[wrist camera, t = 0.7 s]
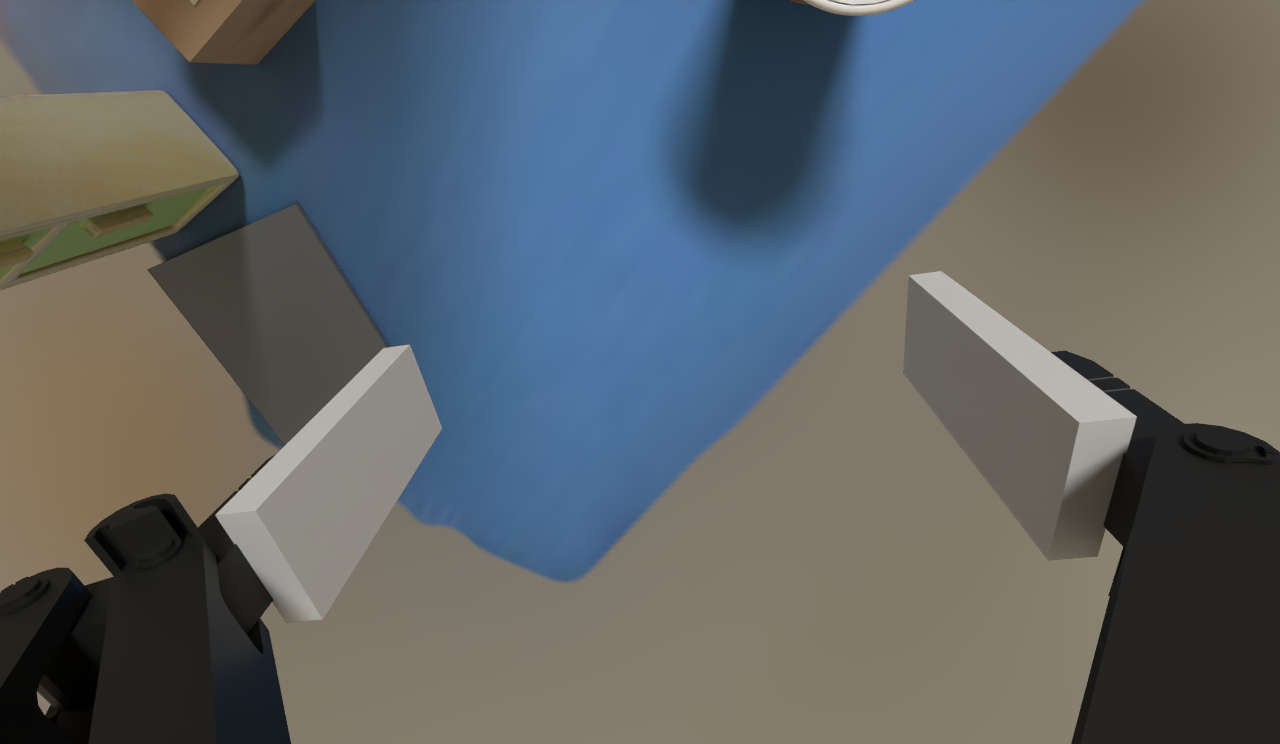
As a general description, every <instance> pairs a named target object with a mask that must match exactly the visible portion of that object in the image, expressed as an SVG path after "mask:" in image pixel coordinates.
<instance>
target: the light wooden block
mask: <svg viewBox="0 0 1280 744" xmlns="http://www.w3.org/2000/svg"><path fill="white" fill-rule="evenodd" d="M238 177H239V173H238V171H237V170H236V168H235V167H234V166H233V165H232V163H231V162H230V161H229V160H228V159H227V158H226V156H225V155H224V154H223V153H222V152H221V151H220V150H219V149H218V148H217V147H216V145H215V144H214V143H213V142H212V141H211V140H210V139H209V138H208V137H207V136H206V135H205V133H204V132H203V131H202V130H201V129H200V128H199V127H198V126H197V125H196V124H195V123H194V121H193V120H192V119H191V118H190V117H189V116H188V115H187V114H186V113H185V112H184V111H183V110H182V108H181V107H180V106H179V105H178V104H177V103H176V102H175V101H174V100H173V99H172V98H171V97H170V96H169V95H168V94H167V93H166V92H165V91H161V90H153V91H129V92H103V93H79V94H51V95H23V96H2V97H1V96H0V290H3V289H6V288H9V287H12V286H15V285H18V284H21V283H24V282H28V281H31V280H33V279H37V278H40V277H42V276H45V275H49V274H52V273H55V272H58V271H61V270H64V269H67V268H71V267H73V266H77V265H80V264H83V263H86V262H89V261H92V260H95V259H98V258H101V257H104V256H107V255H111V254H113V253H116V252H119V251H123V250H126V249H129V248H132V247H135V246H138V245H141V244H144V243H147V242H150V241H153V240H156V239H159V238H162V237H165V236H168V235H171V234H174V233H176V232H178V231H179V230H180V229H182V228H183V227H184V226H185V225H186V224H187V223H188V222H190V221H191V220H192V219H193V218H194V217H195V216H196V215H197V214H198V213H199V212H201V211H202V210H203V209H204V208H205V207H206V206H207V205H208V204H209V203H210V202H212V201H213V200H214V199H215V198H216V197H217V196H218V195H219V194H220V193H221V192H223V191H224V190H225V189H226V188H227V187H228V186H229V185H230V184H232V183H233V182H234V181H235V180H236V179H237V178H238Z"/></svg>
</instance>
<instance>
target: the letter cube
mask: <svg viewBox="0 0 1280 744" xmlns="http://www.w3.org/2000/svg"><path fill="white" fill-rule="evenodd" d="M132 1H133V2H134V4H135V5H136V6H137V7H138V8H139V9H140V10H141V11H142V12H143V13H144V14H145V15H146V16H147V17H148V18H149V20H150V21H151V22H152V23H153V24H154V25H155V26H156V27H157V28H158V29H159V30H160V31H161V32H162V33H163V34H164V36H165V37H166V38H167V39H168V40H169V41H170V42H171V43H172V44H173V45H174V46H175V47H176V48H177V49H178V50H179V52H180V53H181V54H182V55H183V56H184V57H185V58H186V59H187V60H188V61H189V62H194V63H221V64H248V65H258V63H259V62H260V61H261V60H262V59H263V58H264V57H265V56H266V55H267V54H268V52H269V51H270V50H271V49H272V48H273V47H274V46H275V45H276V44H277V42H278V41H279V40H280V39H281V38H282V37H283V36H284V35H285V34H286V32H287V31H288V30H289V29H290V28H291V27H292V26H293V25H294V24H295V22H296V21H297V20H298V19H299V18H300V17H301V16H302V15H303V14H304V12H305V11H306V10H307V9H308V8H309V7H310V6H311V5H312V4H313V2H314V1H315V0H132Z"/></svg>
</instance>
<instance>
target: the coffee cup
mask: <svg viewBox="0 0 1280 744" xmlns="http://www.w3.org/2000/svg"><path fill="white" fill-rule="evenodd" d="M790 1H791V2H794V3H799V4H804V5H812V6H814V7H816V8H819V9H821V10H824V11H827V12H830V13H834V14H839V15H847V16H867V15H875V14H880V13H884V12H888V11H891V10H894V9H897V8H899V7H902V6H904V5H907V4H909V3H911V2H913V1H915V0H790Z"/></svg>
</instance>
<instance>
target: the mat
mask: <svg viewBox="0 0 1280 744" xmlns="http://www.w3.org/2000/svg"><path fill="white" fill-rule="evenodd" d="M148 271H149V272H150V274H151V275H152V276H153V277H154V279H155V280H156V281H157V283H158V284H159V285H160V286H161V288H162V289H163V290H164V291H165V293H166V294H167V295H168V297H169V298H170V299H171V300H172V302H173V303H174V304H175V305H176V307H177V308H178V309H179V311H180V312H181V313H182V315H183V316H184V317H185V318H186V320H187V321H188V322H189V323H190V324H191V326H192V327H193V329H194V330H195V331H196V332H197V334H198V335H199V336H200V337H201V339H202V340H203V341H204V342H205V344H206V345H207V346H208V348H209V349H210V350H211V351H212V353H213V354H214V355H215V357H216V358H217V359H218V360H219V362H220V363H221V364H222V365H223V366H224V368H225V369H226V371H227V372H228V373H229V374H230V376H231V377H232V378H233V380H234V381H235V382H236V383H237V385H238V386H239V387H240V388H241V390H242V391H243V392H244V394H245V395H246V396H247V397H248V399H249V400H250V401H251V402H252V404H253V405H254V406H255V408H256V409H257V410H258V411H259V413H260V414H261V415H262V416H263V418H264V419H265V420H266V422H267V423H268V424H269V425H270V427H271V428H272V429H273V430H274V432H275V433H276V434H277V436H278V437H279V438H280V439H281V441H282V442H283V443H284V444H285V445H286V444H287V443H288V442H289V441H290V440H291V439H292V438H293V437H294V436H295V435H296V434H297V433H298V432H299V431H300V430H301V429H302V428H303V427H304V426H305V425H306V424H307V423H308V422H309V421H311V420H312V419H313V418H314V417H315V416H316V415H317V414H318V413H319V412H320V411H321V410H322V409H323V408H324V407H325V406H326V405H327V404H328V403H329V402H330V401H331V400H332V399H333V398H334V397H335V396H336V395H337V394H338V393H339V392H340V391H341V390H342V389H343V388H344V387H345V386H346V385H347V384H348V383H349V382H350V381H351V380H352V379H353V378H354V377H355V376H356V375H357V374H358V373H359V372H360V371H361V370H362V369H363V368H364V367H365V366H366V365H367V364H368V363H369V362H370V361H371V360H372V359H373V358H374V357H375V356H376V355H377V354H378V353H379V352H380V351H381V350H382V349H383V348H389V346H388V344H387V342H386V341H385V339H384V338H383V336H382V335H381V333H380V331H379V330H378V328H377V327H376V325H375V323H374V322H373V320H372V319H371V317H370V316H369V314H368V312H367V311H366V309H365V308H364V306H363V304H362V303H361V301H360V300H359V298H358V297H357V295H356V293H355V292H354V290H353V289H352V287H351V285H350V284H349V282H348V281H347V279H346V278H345V276H344V274H343V273H342V271H341V270H340V268H339V266H338V265H337V263H336V262H335V260H334V259H333V257H332V255H331V254H330V252H329V251H328V249H327V248H326V246H325V244H324V243H323V241H322V240H321V238H320V236H319V235H318V233H317V232H316V230H315V229H314V227H313V225H312V224H311V222H310V221H309V219H308V217H307V216H306V214H305V213H304V211H303V210H302V208H301V206H300V205H299V203H296V204H294V205H291V206H289V207H287V208H285V209H282V210H280V211H278V212H276V213H274V214H271V215H269V216H267V217H265V218H262V219H260V220H258V221H256V222H253V223H251V224H249V225H247V226H244V227H242V228H240V229H238V230H235V231H233V232H231V233H229V234H226V235H224V236H222V237H220V238H217V239H215V240H213V241H211V242H208V243H206V244H204V245H202V246H199V247H197V248H195V249H193V250H190V251H188V252H186V253H184V254H182V255H179V256H177V257H175V258H173V259H170V260H168V261H166V262H164V263H161V264H159V265H157V266H155V267H152V268H150V269H148Z"/></svg>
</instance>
